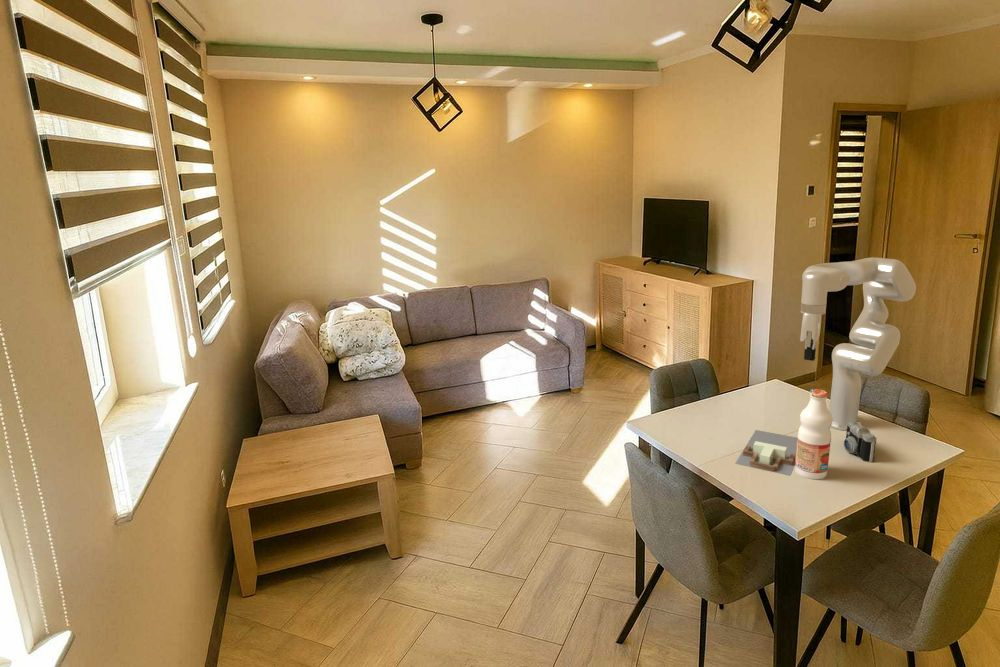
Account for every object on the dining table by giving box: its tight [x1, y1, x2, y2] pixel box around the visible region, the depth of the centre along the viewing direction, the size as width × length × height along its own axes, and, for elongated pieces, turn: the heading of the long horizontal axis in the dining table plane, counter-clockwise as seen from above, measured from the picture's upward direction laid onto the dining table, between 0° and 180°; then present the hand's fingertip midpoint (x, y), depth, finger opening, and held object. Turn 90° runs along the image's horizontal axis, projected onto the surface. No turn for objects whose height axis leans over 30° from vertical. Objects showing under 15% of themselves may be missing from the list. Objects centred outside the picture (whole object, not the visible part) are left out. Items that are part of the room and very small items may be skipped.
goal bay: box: [742, 444, 795, 473], centre depth 204 cm, size 13×15×2 cm
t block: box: [753, 441, 787, 465], centre depth 204 cm, size 10×10×4 cm
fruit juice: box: [794, 388, 832, 480], centre depth 192 cm, size 9×9×28 cm
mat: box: [734, 429, 797, 477], centre depth 211 cm, size 31×17×1 cm, turn 146°
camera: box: [843, 422, 878, 463], centre depth 207 cm, size 15×7×10 cm, turn 176°
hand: (809, 359), depth 210 cm, fingers closed
